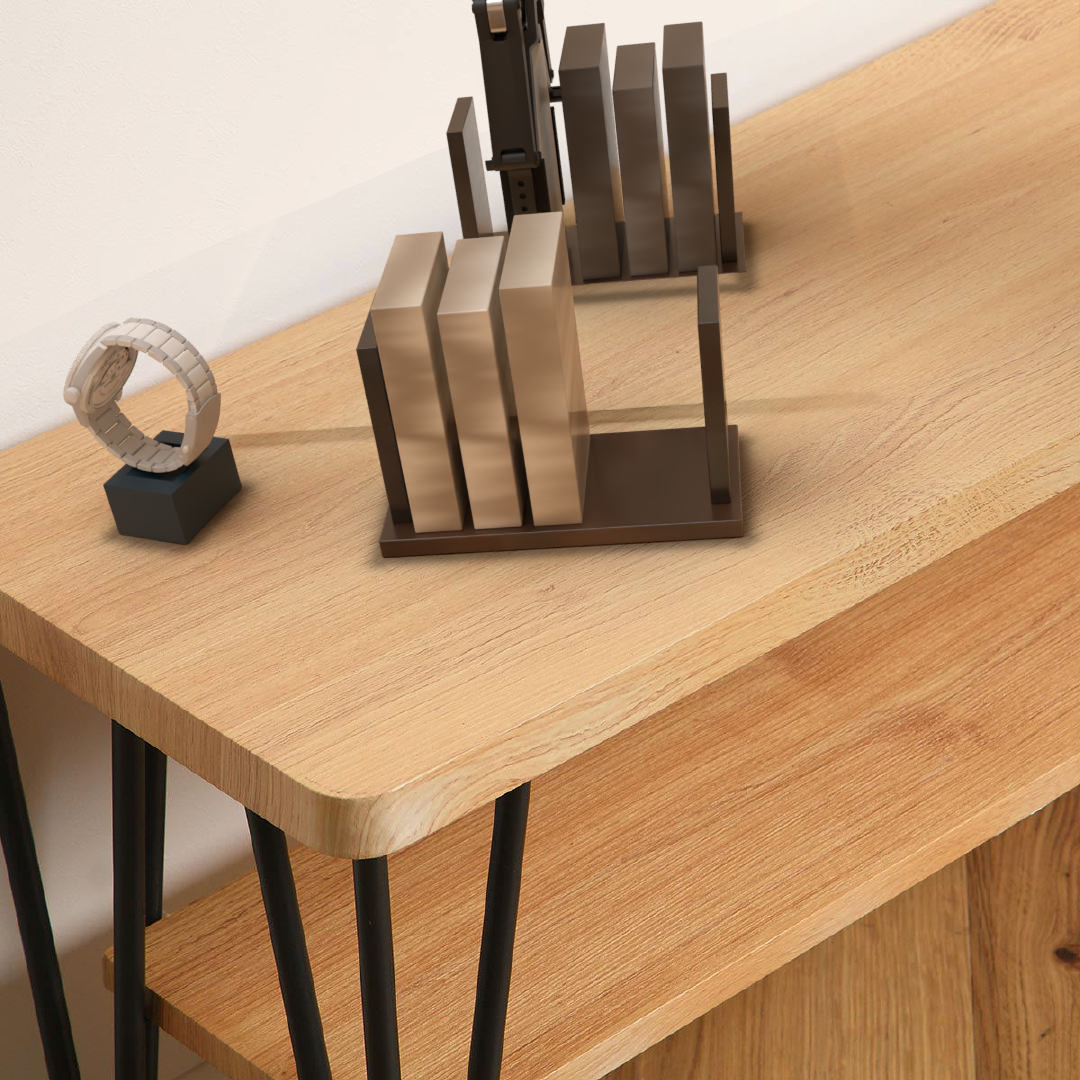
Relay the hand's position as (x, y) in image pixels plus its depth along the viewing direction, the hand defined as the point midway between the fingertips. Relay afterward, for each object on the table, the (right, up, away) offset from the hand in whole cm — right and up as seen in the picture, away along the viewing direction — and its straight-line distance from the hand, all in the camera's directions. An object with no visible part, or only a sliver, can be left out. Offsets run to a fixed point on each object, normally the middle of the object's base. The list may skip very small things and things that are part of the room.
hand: (540, 231), depth 105 cm
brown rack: (+1, -18, -21) cm, 27 cm away
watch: (-19, -18, -17) cm, 32 cm away
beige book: (0, -1, +1) cm, 2 cm away
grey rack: (+4, -2, +1) cm, 5 cm away
